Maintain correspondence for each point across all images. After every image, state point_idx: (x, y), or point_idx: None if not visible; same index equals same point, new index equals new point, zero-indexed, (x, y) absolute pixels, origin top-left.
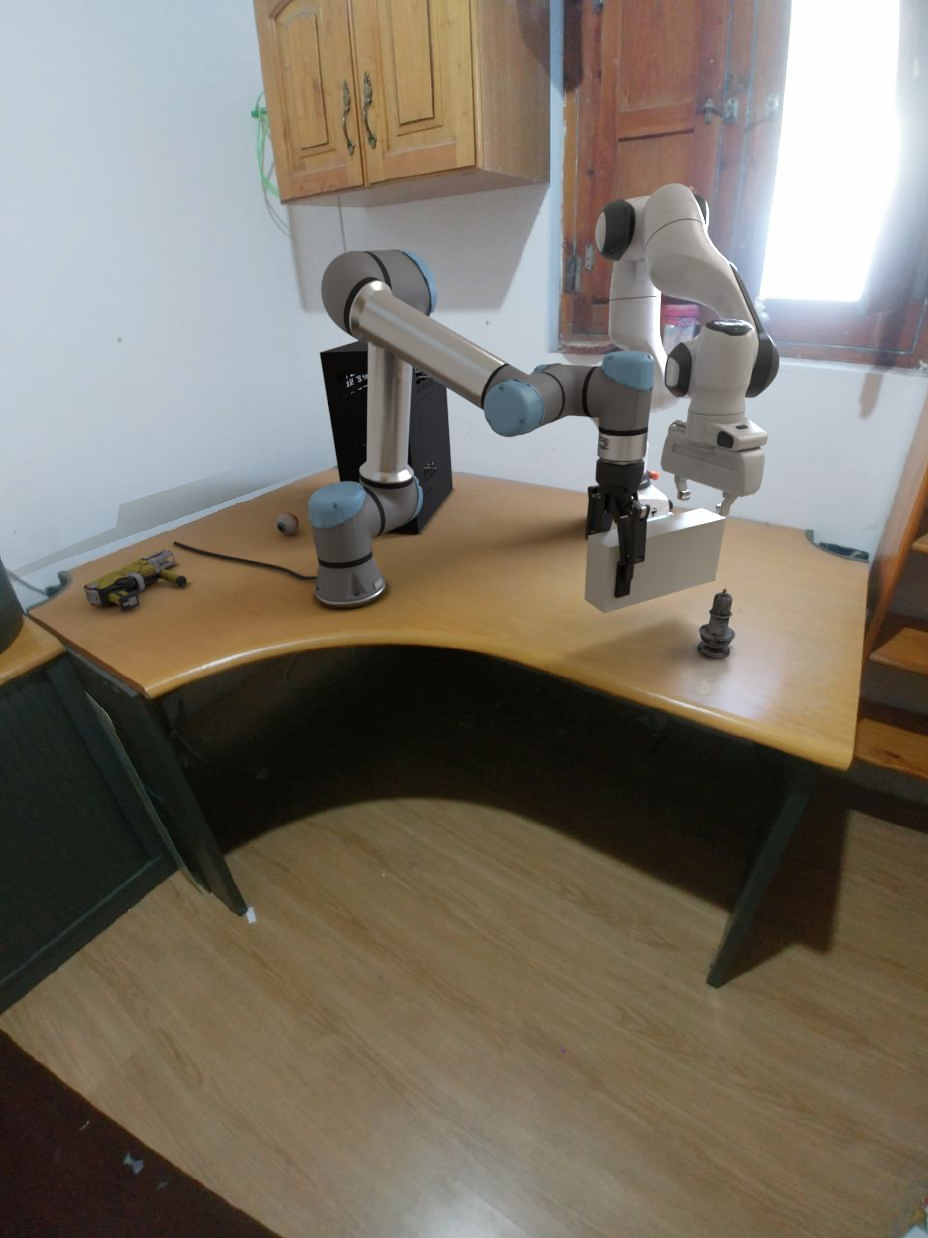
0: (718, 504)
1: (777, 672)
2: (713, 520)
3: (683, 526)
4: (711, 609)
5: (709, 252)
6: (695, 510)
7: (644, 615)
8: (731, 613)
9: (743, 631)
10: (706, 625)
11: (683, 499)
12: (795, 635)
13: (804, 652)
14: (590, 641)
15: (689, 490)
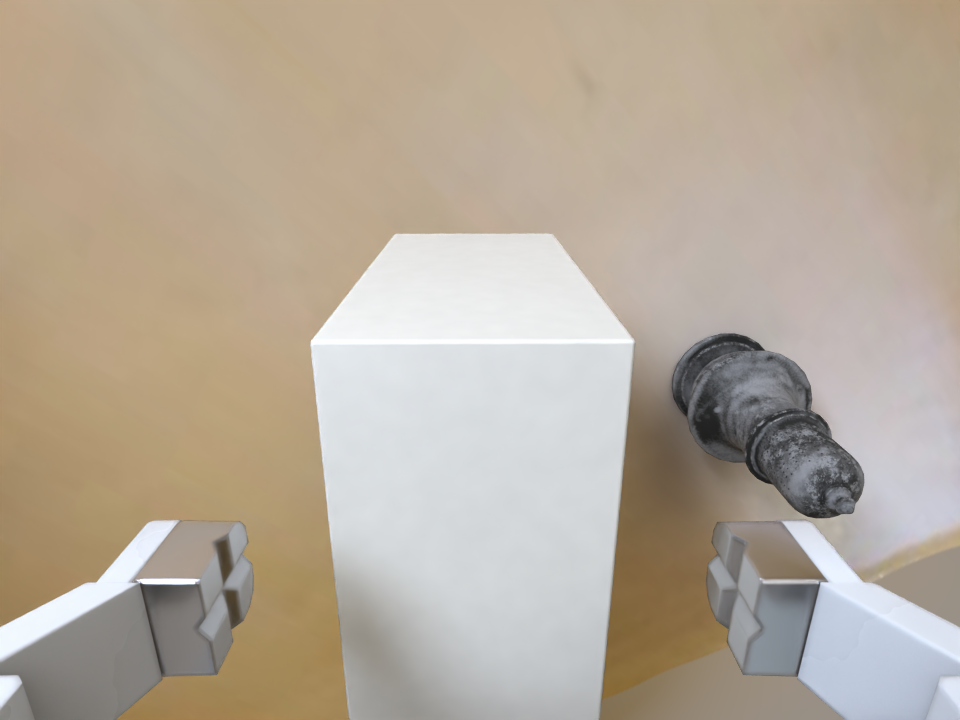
0: (751, 652)
1: (923, 304)
2: (614, 473)
3: (570, 707)
4: (754, 465)
5: None
6: (338, 433)
7: None
8: (822, 421)
9: (702, 201)
10: (710, 423)
11: (246, 595)
12: (845, 43)
13: (928, 122)
14: None
15: (180, 585)
